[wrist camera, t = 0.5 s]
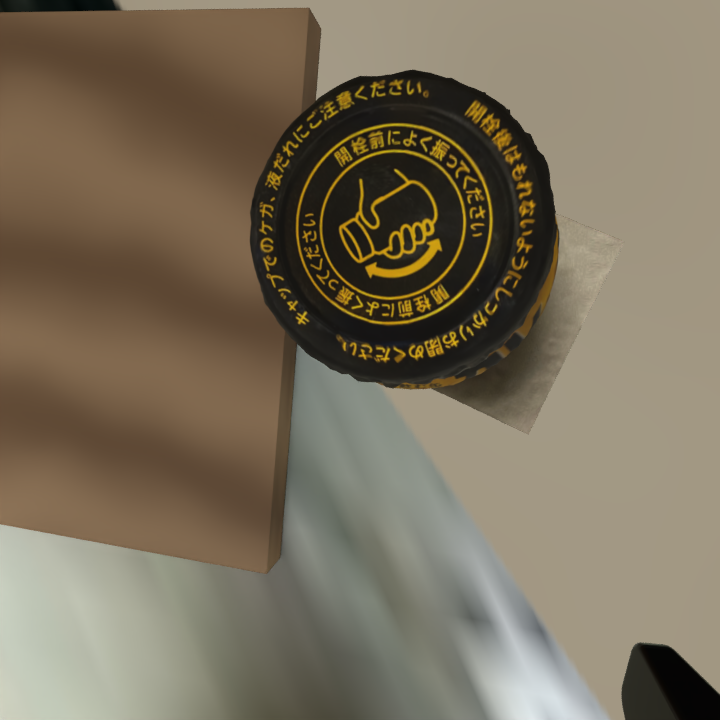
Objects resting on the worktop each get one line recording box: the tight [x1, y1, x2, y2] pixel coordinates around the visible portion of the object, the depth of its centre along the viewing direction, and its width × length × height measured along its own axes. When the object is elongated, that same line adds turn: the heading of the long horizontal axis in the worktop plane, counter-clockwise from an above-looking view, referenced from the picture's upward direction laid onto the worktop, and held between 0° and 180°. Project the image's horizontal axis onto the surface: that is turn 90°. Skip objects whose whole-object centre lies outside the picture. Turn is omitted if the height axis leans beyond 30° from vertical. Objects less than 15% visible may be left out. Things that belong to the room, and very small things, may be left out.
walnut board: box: [0, 8, 321, 574], centre depth 23 cm, size 20×16×2 cm
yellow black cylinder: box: [250, 70, 624, 434], centre depth 15 cm, size 7×8×12 cm
